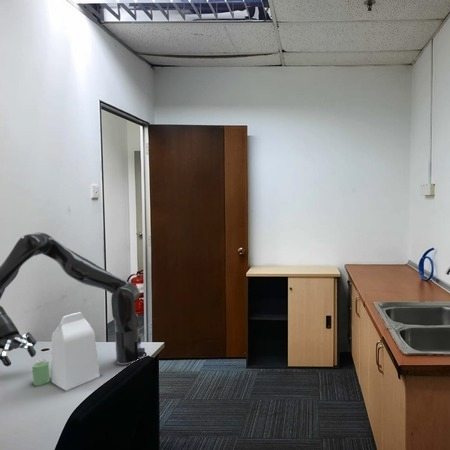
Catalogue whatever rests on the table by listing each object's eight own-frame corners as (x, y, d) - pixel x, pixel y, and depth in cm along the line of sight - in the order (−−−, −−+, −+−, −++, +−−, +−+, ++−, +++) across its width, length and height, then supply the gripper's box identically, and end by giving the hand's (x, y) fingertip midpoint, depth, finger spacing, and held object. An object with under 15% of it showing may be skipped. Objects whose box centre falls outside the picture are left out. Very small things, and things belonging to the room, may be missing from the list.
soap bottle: (52, 379, 131) (51, 358, 130) (39, 386, 126) (38, 364, 126) (43, 377, 132) (42, 357, 132) (30, 384, 128) (28, 362, 127)
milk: (65, 390, 123) (61, 321, 121) (51, 382, 129) (47, 316, 127) (99, 376, 133) (96, 312, 131) (85, 368, 139) (81, 307, 138)
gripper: (-16, 329, 129) (4, 363, 125) (25, 317, 142) (45, 347, 139) (-23, 340, 131) (-4, 374, 128) (18, 327, 144) (37, 357, 141)
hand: (22, 360), depth 133 cm, fingers open, 8 cm apart
